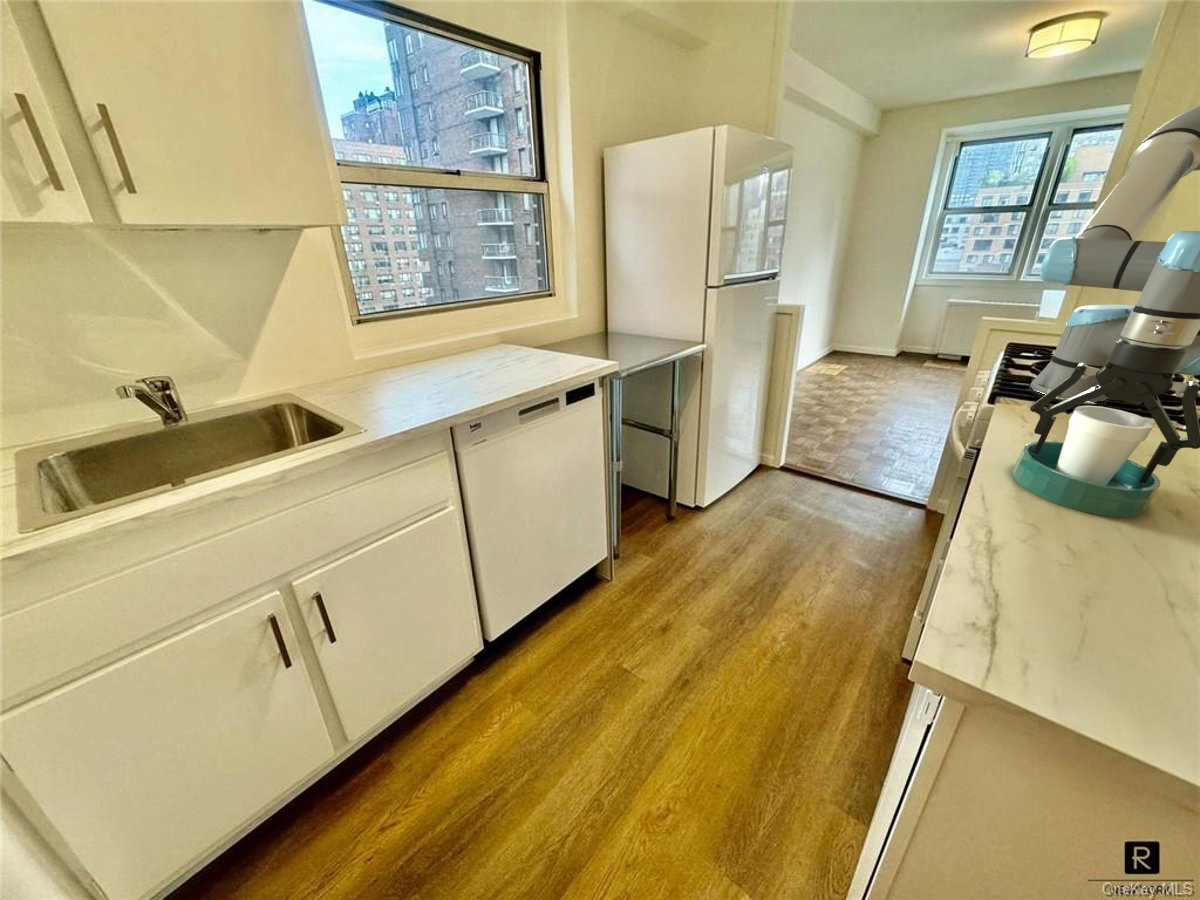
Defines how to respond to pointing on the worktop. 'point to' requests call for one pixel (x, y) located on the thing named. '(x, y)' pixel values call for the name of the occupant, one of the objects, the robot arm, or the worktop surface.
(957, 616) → the worktop surface
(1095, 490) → the teal plant saucer
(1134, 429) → the foam cup
